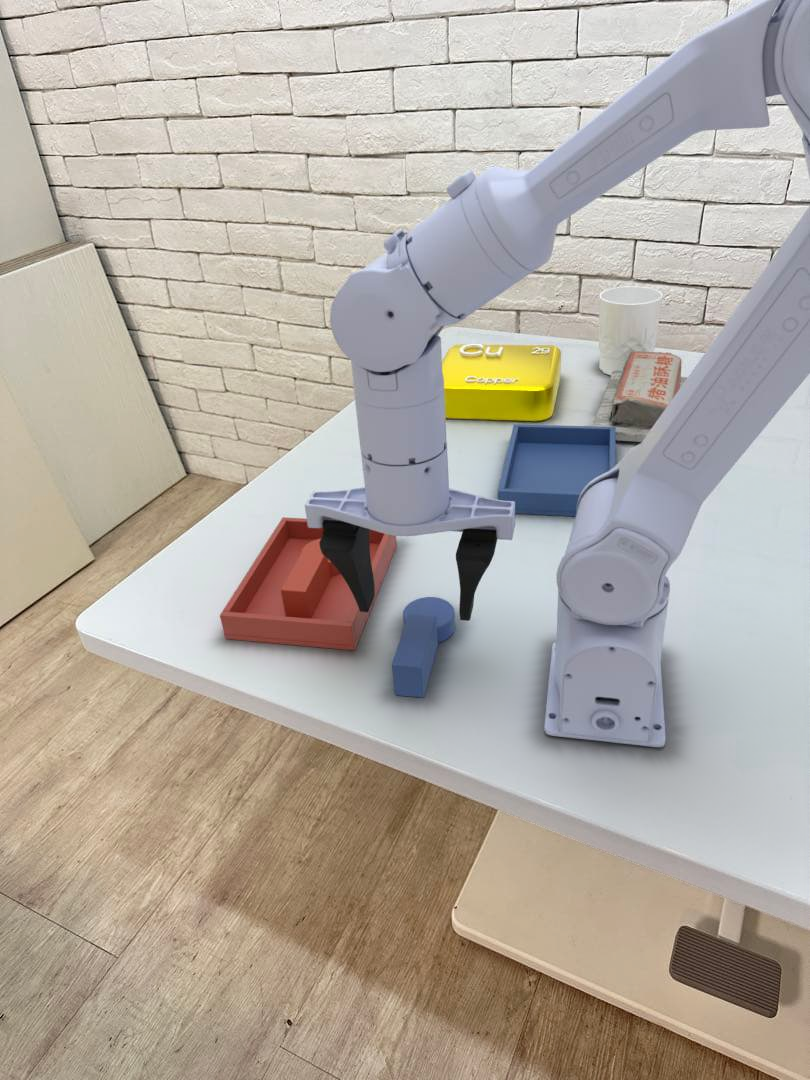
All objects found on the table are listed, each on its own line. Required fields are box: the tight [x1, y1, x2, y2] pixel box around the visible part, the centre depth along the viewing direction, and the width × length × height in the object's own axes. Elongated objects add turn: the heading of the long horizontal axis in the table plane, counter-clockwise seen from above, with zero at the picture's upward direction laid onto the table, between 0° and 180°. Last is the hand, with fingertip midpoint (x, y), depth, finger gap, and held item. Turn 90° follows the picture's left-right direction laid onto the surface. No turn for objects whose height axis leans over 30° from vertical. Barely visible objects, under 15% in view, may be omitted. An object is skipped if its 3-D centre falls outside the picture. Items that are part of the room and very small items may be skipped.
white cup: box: [598, 285, 664, 376], centre depth 105 cm, size 8×8×10 cm
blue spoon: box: [391, 596, 456, 699], centre depth 62 cm, size 10×4×3 cm, turn 168°
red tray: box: [219, 516, 398, 651], centre depth 70 cm, size 15×11×2 cm
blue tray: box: [497, 423, 617, 517], centre depth 84 cm, size 15×11×2 cm
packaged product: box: [592, 351, 688, 443], centre depth 95 cm, size 18×5×10 cm
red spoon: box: [281, 539, 340, 619], centre depth 70 cm, size 10×4×3 cm, turn 168°
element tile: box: [442, 343, 562, 422], centre depth 102 cm, size 15×15×5 cm
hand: (416, 608), depth 60 cm, fingers open, 7 cm apart
